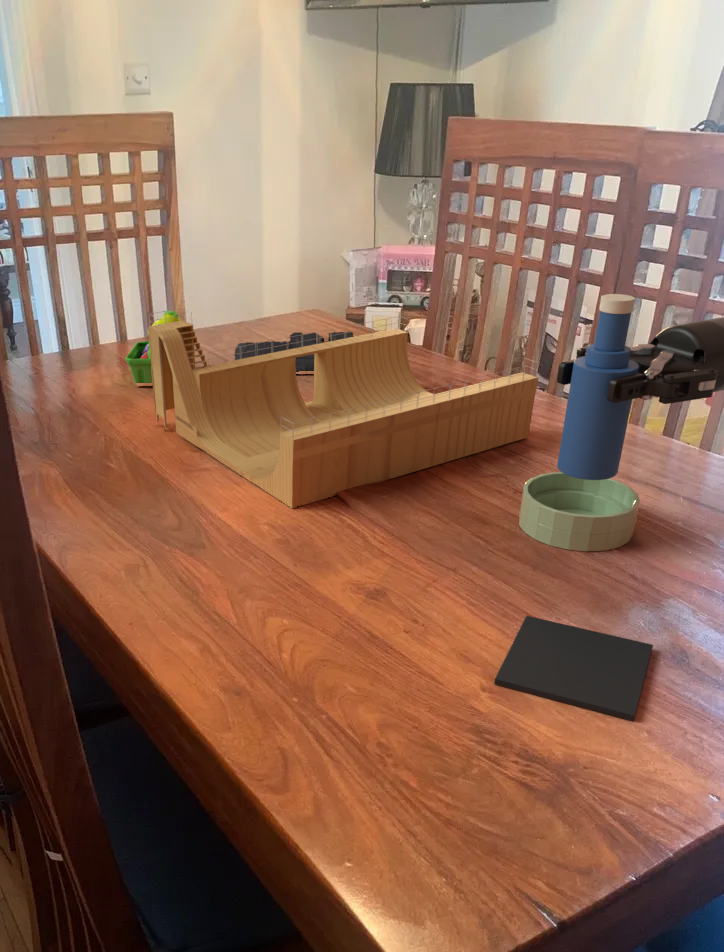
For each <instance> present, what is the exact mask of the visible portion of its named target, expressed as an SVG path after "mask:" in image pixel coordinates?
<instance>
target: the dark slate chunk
mask: <svg viewBox="0 0 724 952" xmlns="http://www.w3.org/2000/svg"><path fill="white" fill-rule="evenodd" d="M347 332H349V333H347ZM309 333H310V334H308V333H303V332H292V333H291V334H290V335H289V340H285V341H279V340H272V341H268V342H266V341H267V340H265V341H262V342H263V343H260V342H258V341H256V342H253V341H252V342H249V341H246V342H240V343H239V342H238V344H237V345H236V346H235V347H236V348H234V354H236V355H234V354H233V356H234V360H239V359H244V358H249V357H254V356H257V354H258V356H259V355H264V354H269V353H274V352H279V351H284V350H289V349H294V348H299V347H304V346H310V345H315V344H316V334H317V332H315V333H313V332H309ZM342 333H344V334H342ZM303 334H305V335H303ZM337 334H339V335H337ZM297 335H300V336H297ZM332 335H334V336H332ZM292 336H294V337H292ZM328 336H329V337H328V338H327V339H328V340H327V341H325V337H323V336H322V335H320V334H318V341H317V344H320V343H325V342H330V339H331V337H332V341H335V340H340V339H344V338H350V337H355V335H354V332H352V331H350V330H348V331H337V332H336V331H332V332H329V333H328ZM321 337H323V338H321ZM311 339H313V340H311ZM306 340H308V341H306ZM301 341H302V342H301ZM296 342H298V343H296ZM255 343H256V344H255ZM290 343H292V344H290ZM250 344H252V345H250ZM285 344H287V345H285ZM244 345H247V346H244ZM280 345H282V346H280ZM239 346H240V347H239ZM275 346H277V347H275ZM270 347H272V348H270ZM265 348H267V349H265ZM259 349H261V350H259ZM254 350H256V351H254ZM249 351H251V352H249ZM244 352H246V353H244ZM239 353H240V354H239ZM314 355H315V354H311V355H306V356H301V357H296V372H299V371H314Z"/></svg>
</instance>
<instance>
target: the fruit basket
mask: <svg viewBox="0 0 724 952" xmlns="http://www.w3.org/2000/svg"><path fill="white" fill-rule="evenodd" d="M176 316H179V314H178V313H177V312H176V311H175V310H172V311H169V310H166V311H165V312H163V314H162V317H160V319H161V320H158V319H157V320H155V322H153V323H154V324H153V323H152V324H151V326H154V325H155V324H156V325H160V324H166V323H165V319H164V318H165V317H166V318H167V323H172V322H178V321H182V319H180V316H179V317H176ZM170 317H173V318H170ZM147 335H148V336H149V329H148V330H147ZM125 361H126V363H127V365H128V367H129V369H130V372H131V375H132V377H133V380H134V383H135V384H136V383H152V372H151V370H152V366H151V354H150V341H149V340H147V341H138V342H136V343H135V344H134V346H133V347H132V348H131V350H130V351H129V353H128V354H127V355H126V357H125Z"/></svg>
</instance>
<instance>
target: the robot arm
mask: <svg viewBox="0 0 724 952" xmlns="http://www.w3.org/2000/svg"><path fill="white" fill-rule="evenodd" d="M587 347H588V345H586V346H583V347H579V348H577V349H576V356H575V358H573V359H569V360H563V361H561V362H560V363H559V365H558V370H557V376H556V377H557V378H556V382H557V384H560V385H563V386H565V385H570V383H571V377H572V371H573V365H574V361H575V360H576V359H577V358H580V357H583V356H586V351H587ZM628 347H629V348H630V349H631V353H630V358H629V360H632V361H634V362H636V363H637V364H638V365H639V369H638V373H637V374H632V375H628V376H623V377H618V378H614V379H612V380H611V382H610V384H609V390H608V395H607V400H608V401H610V402H613V403H618V402H622V401H627V400H631V399H632V400H636V399H641V400H643V401H650V400H653V398H656V399H658V398H659V399H658V402H659V403H661V404H663V405H668V404H669V405H670V404H676V403H682V402H688V401H689V402H690V401H695V400H701V399H707V398H708V399H709V398H712V397H713V393H718V392H722V391H724V317H714V318H709V319H704V320H697V321H692V322H687V323H682V324H677V325H671V326H668V327H665V328H663V329H662V330H661V331H660V332H659V333H657V334H656V335H655V336H654V338H653V339H652V340H651V341H650V342H649V343H638V344H636V345H635V346H628Z"/></svg>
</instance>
